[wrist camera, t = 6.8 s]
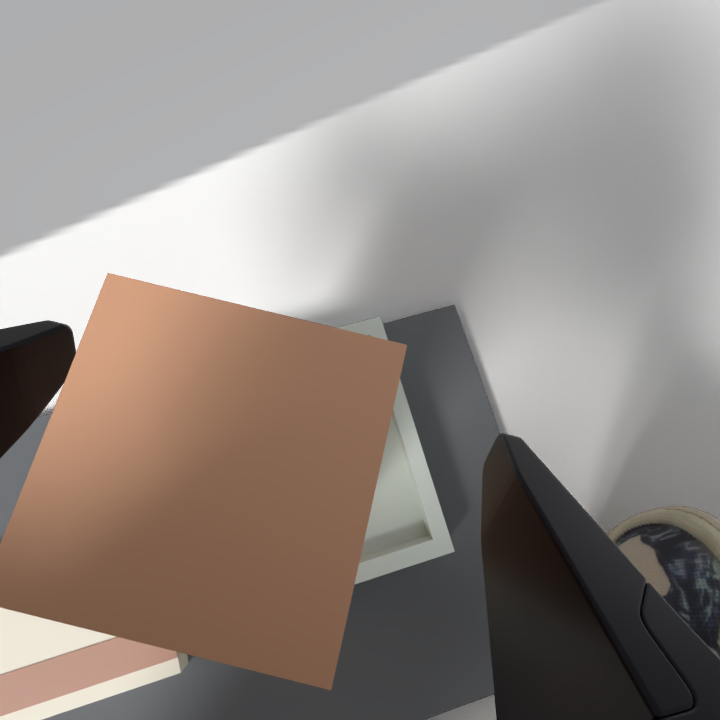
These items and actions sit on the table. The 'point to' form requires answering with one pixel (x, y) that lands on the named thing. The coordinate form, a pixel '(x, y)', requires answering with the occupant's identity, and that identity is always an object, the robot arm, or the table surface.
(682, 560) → the pencil case
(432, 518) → the tray
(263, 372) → the stub
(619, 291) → the table surface
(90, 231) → the table surface
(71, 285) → the table surface
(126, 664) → the strip
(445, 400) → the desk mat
